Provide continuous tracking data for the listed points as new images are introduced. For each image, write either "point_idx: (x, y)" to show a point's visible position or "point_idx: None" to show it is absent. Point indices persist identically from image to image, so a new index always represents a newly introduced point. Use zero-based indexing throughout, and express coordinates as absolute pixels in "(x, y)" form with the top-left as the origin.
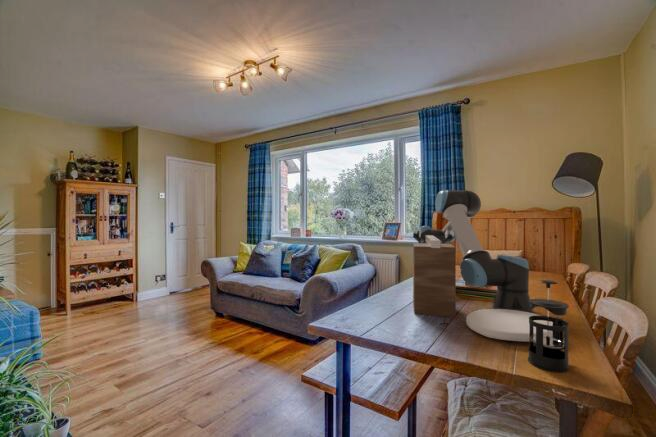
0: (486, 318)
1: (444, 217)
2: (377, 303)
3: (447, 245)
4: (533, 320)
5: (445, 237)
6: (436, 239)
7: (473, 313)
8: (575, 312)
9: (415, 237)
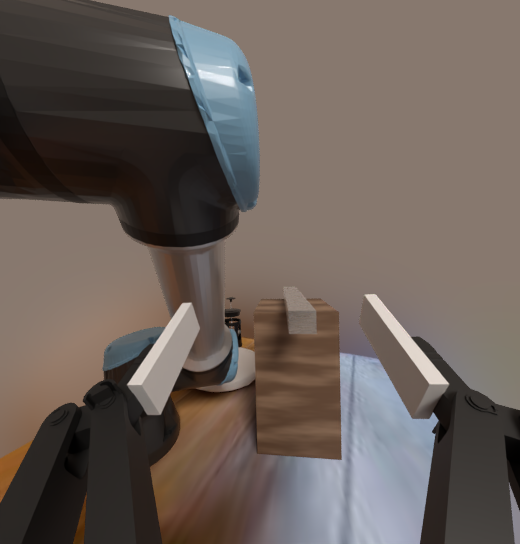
0: (245, 355)
1: (227, 237)
2: (418, 446)
3: (267, 304)
4: (234, 325)
5: (165, 403)
6: (287, 288)
7: (250, 367)
8: (27, 443)
9: (508, 465)
